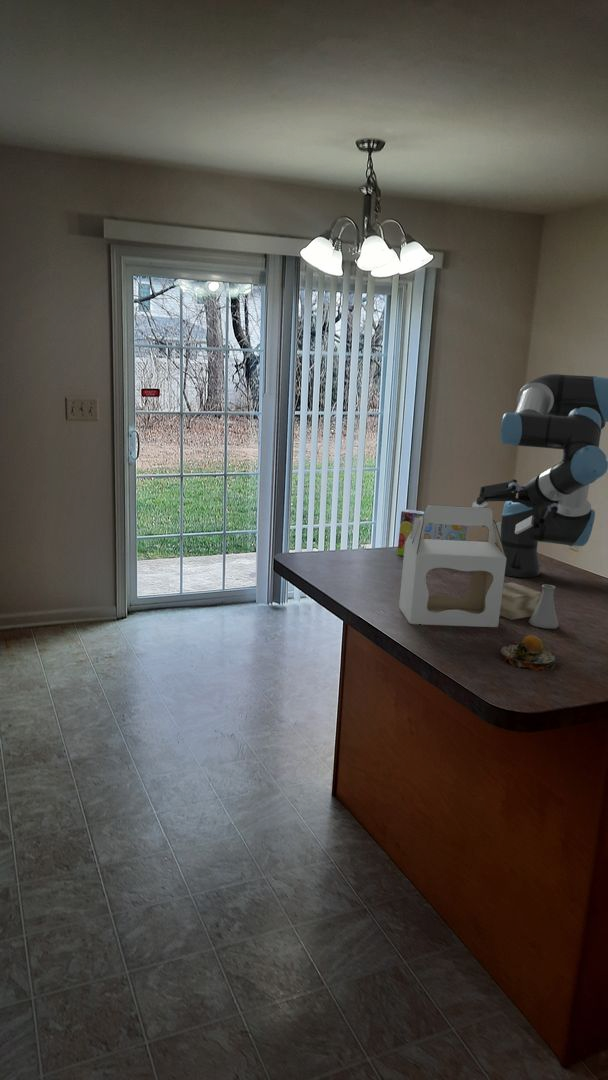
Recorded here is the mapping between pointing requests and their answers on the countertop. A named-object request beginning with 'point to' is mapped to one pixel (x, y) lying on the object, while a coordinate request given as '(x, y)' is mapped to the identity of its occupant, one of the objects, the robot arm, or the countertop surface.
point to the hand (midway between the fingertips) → (494, 518)
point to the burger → (528, 654)
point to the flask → (545, 610)
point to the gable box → (459, 556)
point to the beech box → (518, 601)
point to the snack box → (428, 530)
